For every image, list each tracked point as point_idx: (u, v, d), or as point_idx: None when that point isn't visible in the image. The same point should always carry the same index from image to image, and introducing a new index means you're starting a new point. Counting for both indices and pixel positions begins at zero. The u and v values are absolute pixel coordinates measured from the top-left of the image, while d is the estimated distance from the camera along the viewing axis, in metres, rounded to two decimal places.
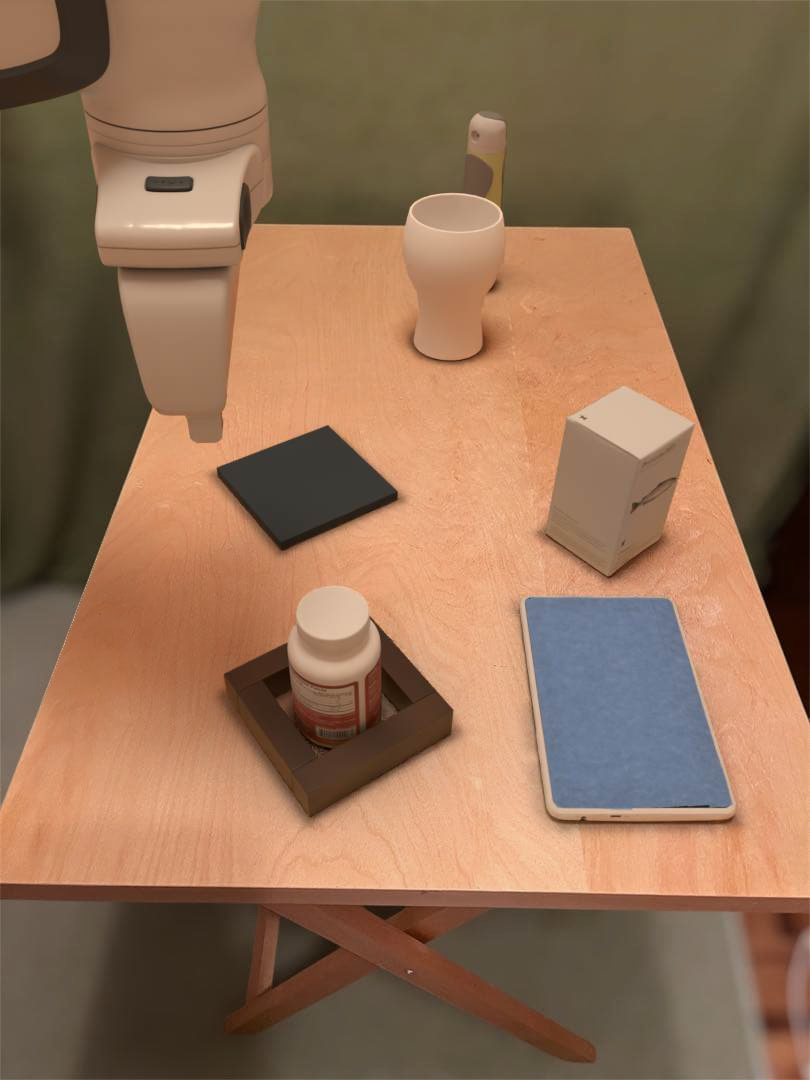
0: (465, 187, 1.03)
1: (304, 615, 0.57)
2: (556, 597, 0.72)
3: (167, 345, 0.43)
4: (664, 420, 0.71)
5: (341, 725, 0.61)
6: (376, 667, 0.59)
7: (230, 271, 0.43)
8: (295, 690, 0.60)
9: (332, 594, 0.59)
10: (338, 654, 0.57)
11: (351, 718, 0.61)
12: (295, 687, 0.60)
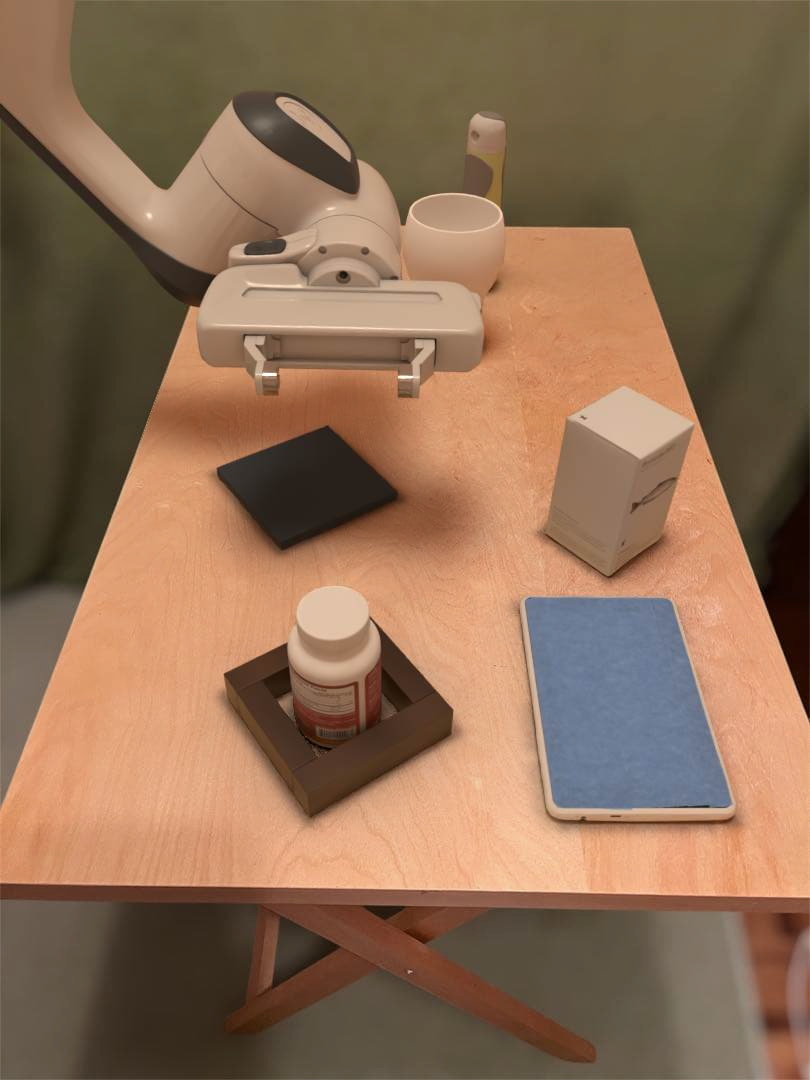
0: (465, 187, 1.03)
1: (304, 615, 0.57)
2: (556, 597, 0.72)
3: None
4: (664, 420, 0.71)
5: (341, 725, 0.61)
6: (376, 667, 0.59)
7: (237, 266, 0.67)
8: (295, 690, 0.60)
9: (332, 594, 0.59)
10: (338, 654, 0.57)
11: (351, 718, 0.61)
12: (295, 687, 0.60)
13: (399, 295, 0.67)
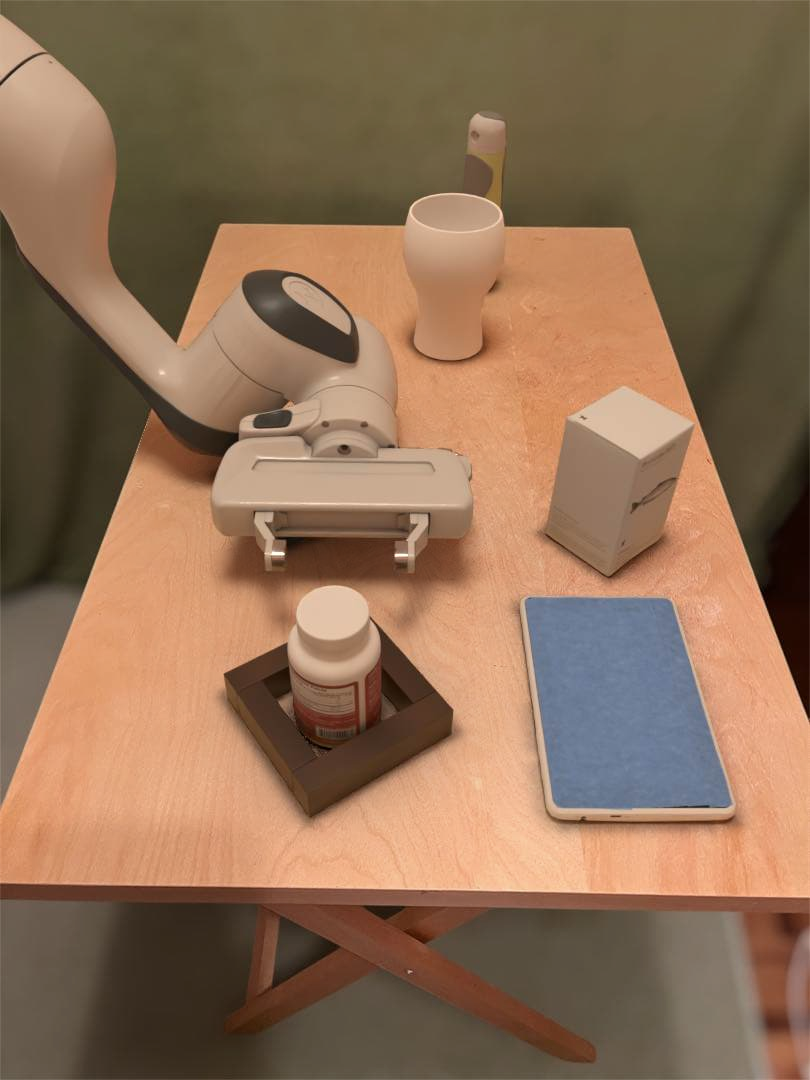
0: (465, 187, 1.03)
1: (304, 615, 0.57)
2: (556, 597, 0.72)
3: None
4: (664, 420, 0.71)
5: (341, 725, 0.61)
6: (376, 667, 0.59)
7: (247, 439, 0.73)
8: (295, 690, 0.60)
9: (332, 594, 0.59)
10: (338, 654, 0.57)
11: (351, 718, 0.61)
12: (295, 687, 0.60)
13: (396, 465, 0.73)
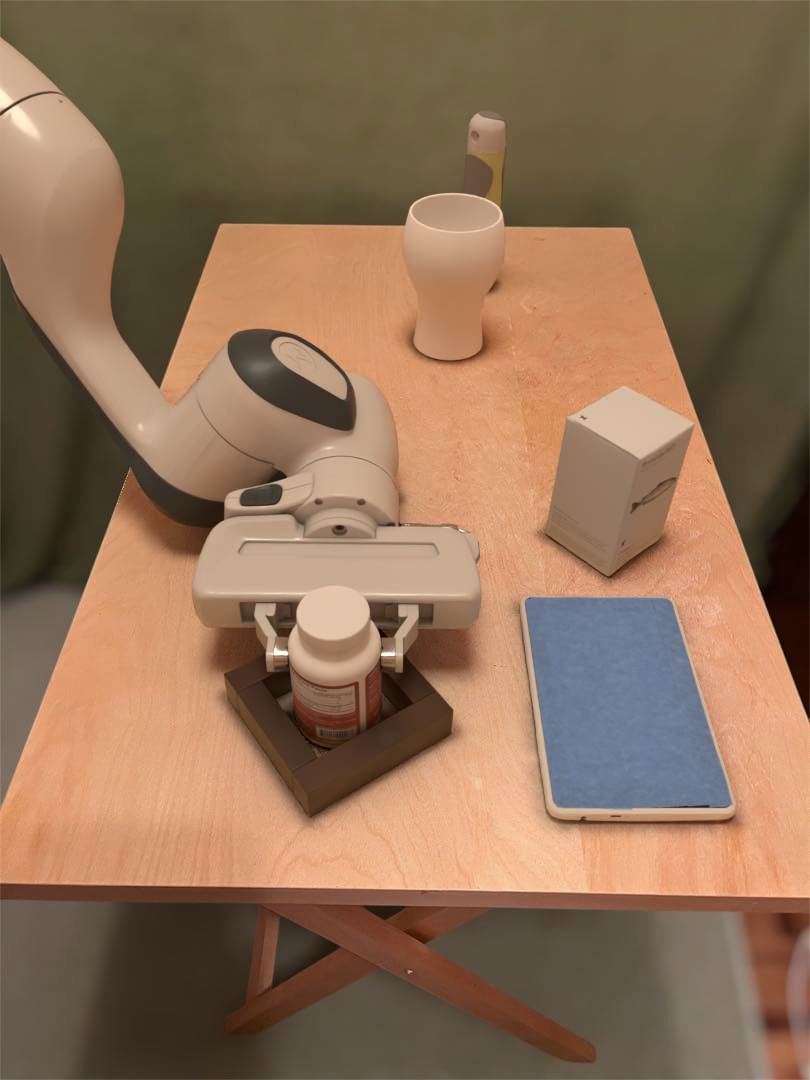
0: (465, 187, 1.03)
1: (304, 615, 0.57)
2: (556, 597, 0.72)
3: None
4: (664, 420, 0.71)
5: (341, 726, 0.61)
6: (376, 667, 0.59)
7: (233, 517, 0.67)
8: (295, 690, 0.60)
9: (332, 595, 0.59)
10: (338, 654, 0.57)
11: (351, 718, 0.61)
12: (295, 687, 0.60)
13: (396, 547, 0.66)
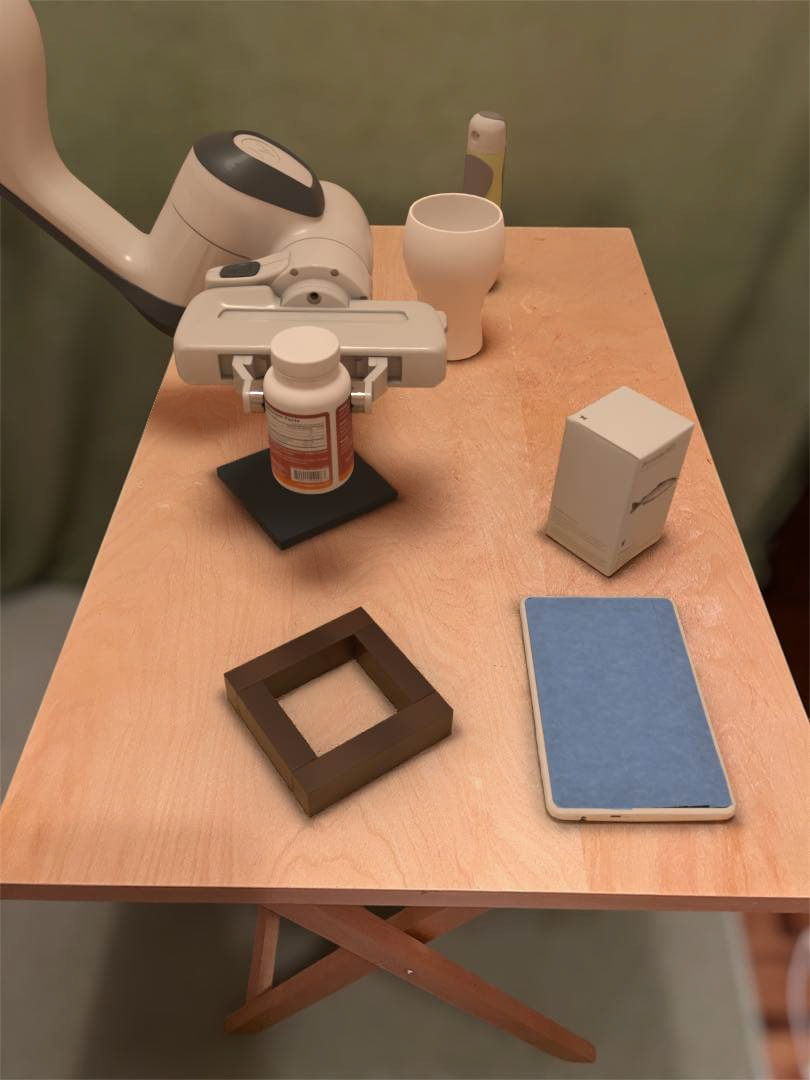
0: (465, 187, 1.03)
1: (278, 346, 0.61)
2: (556, 597, 0.72)
3: None
4: (664, 420, 0.71)
5: (314, 465, 0.65)
6: (346, 404, 0.63)
7: (213, 288, 0.70)
8: (271, 430, 0.64)
9: (304, 332, 0.62)
10: (310, 382, 0.61)
11: (323, 456, 0.64)
12: (271, 426, 0.64)
13: (367, 315, 0.70)
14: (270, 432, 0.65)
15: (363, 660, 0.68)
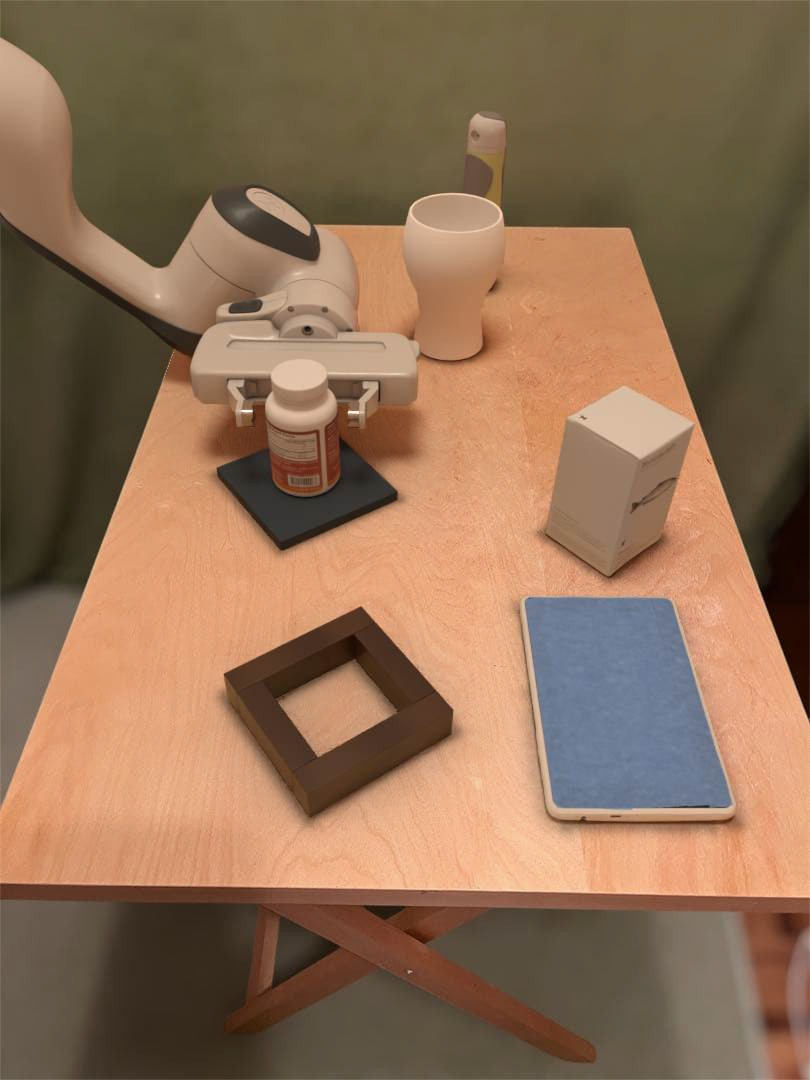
0: (465, 187, 1.03)
1: (277, 376, 0.75)
2: (556, 597, 0.72)
3: None
4: (664, 420, 0.71)
5: (307, 472, 0.79)
6: (333, 423, 0.77)
7: (223, 322, 0.84)
8: (271, 444, 0.78)
9: (299, 364, 0.76)
10: (303, 406, 0.75)
11: (314, 466, 0.78)
12: (271, 440, 0.78)
13: (352, 344, 0.83)
14: (271, 446, 0.79)
15: (363, 660, 0.68)
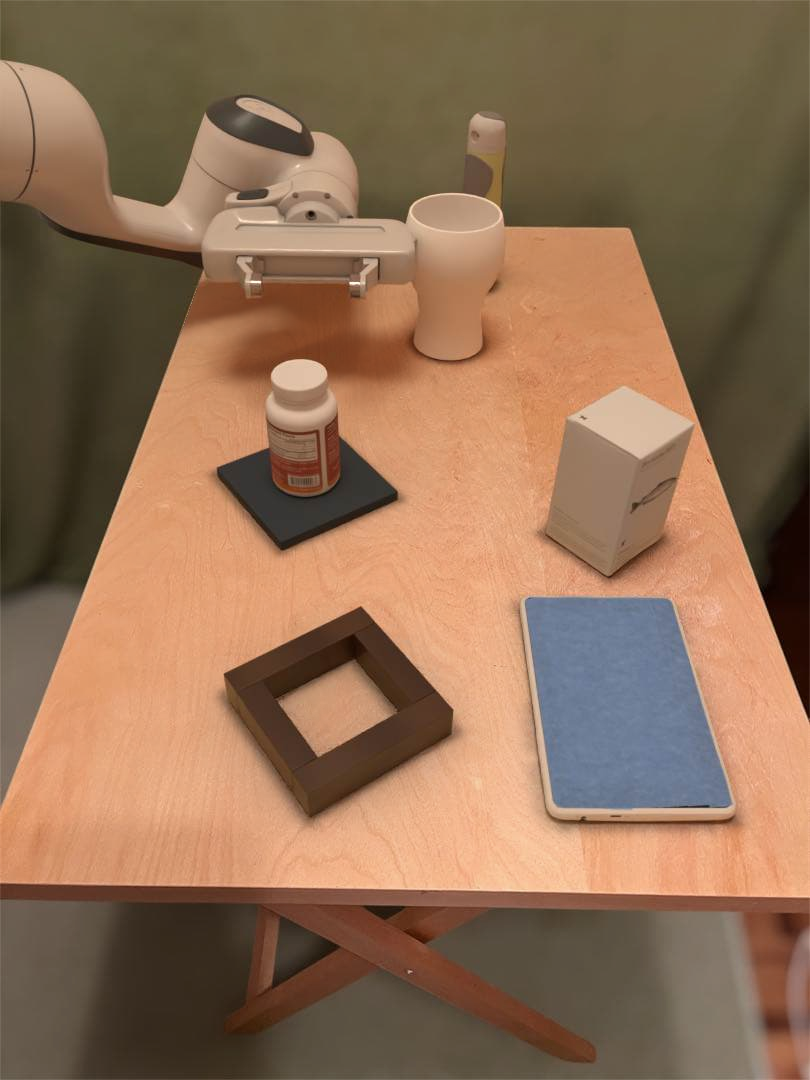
0: (465, 187, 1.03)
1: (277, 376, 0.75)
2: (556, 597, 0.72)
3: None
4: (664, 420, 0.71)
5: (307, 472, 0.79)
6: (333, 423, 0.77)
7: (232, 208, 0.89)
8: (271, 444, 0.78)
9: (299, 364, 0.76)
10: (303, 406, 0.75)
11: (314, 466, 0.78)
12: (271, 441, 0.78)
13: (353, 228, 0.89)
14: (271, 446, 0.79)
15: (363, 660, 0.68)
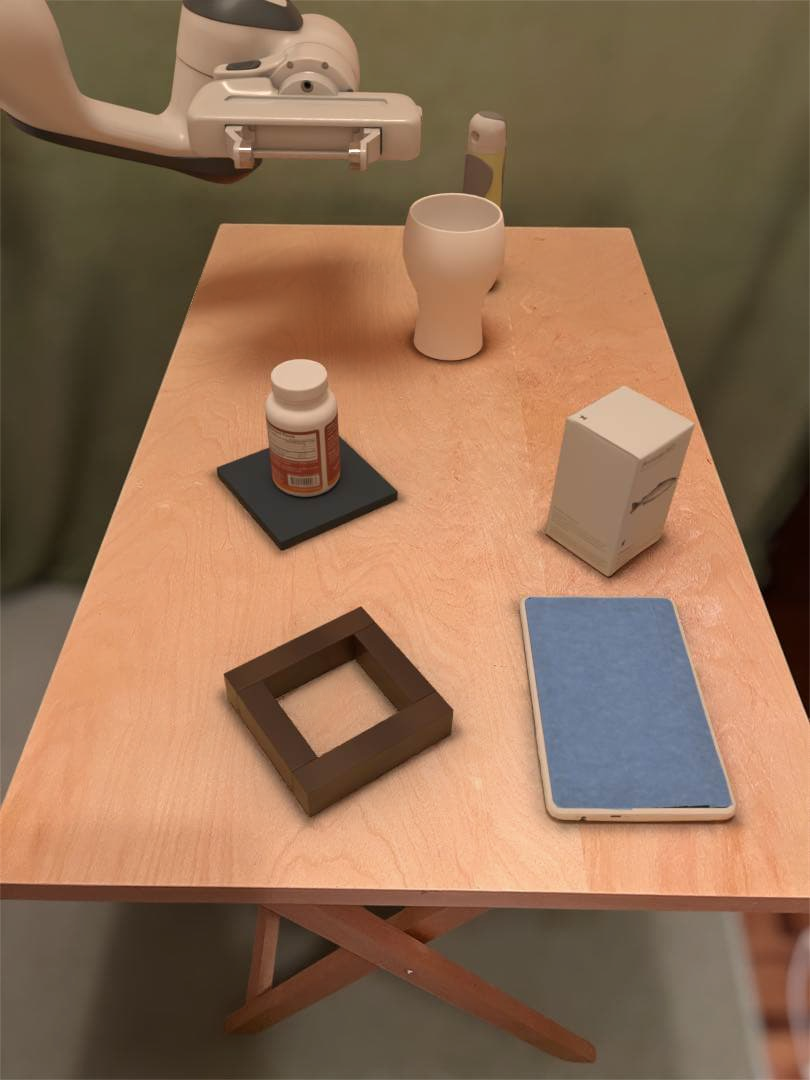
0: (465, 187, 1.03)
1: (277, 376, 0.75)
2: (556, 597, 0.72)
3: None
4: (664, 420, 0.71)
5: (307, 472, 0.79)
6: (333, 423, 0.77)
7: (220, 79, 0.82)
8: (271, 444, 0.78)
9: (299, 364, 0.76)
10: (303, 406, 0.75)
11: (314, 466, 0.78)
12: (271, 441, 0.78)
13: (353, 101, 0.81)
14: (271, 446, 0.79)
15: (363, 660, 0.68)
